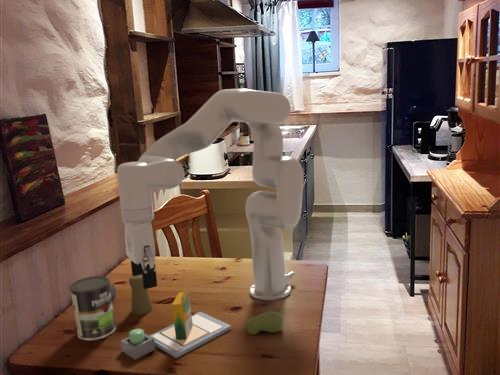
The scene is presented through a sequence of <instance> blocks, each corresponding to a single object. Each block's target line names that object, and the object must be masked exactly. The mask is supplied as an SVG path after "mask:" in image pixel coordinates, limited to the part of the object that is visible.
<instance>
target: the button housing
mask: <svg viewBox="0 0 500 375" xmlns="http://www.w3.org/2000/svg"><path fill="white" fill-rule="evenodd" d="M144 338H145V341H144V342H142V343H140V344H137V345H135V346H134V345H132V344H131V343H130V338H129V336H128V337H126V338H123V339H122V340H120V347H121V352H123V353H124V354H125V355H127V356H128V357H130V358H132V359H133V360H134V361H135V360H138V359H139V358H141V357H143V356H145V355H148V354H149V353H151V352H153V351H155V350H156V346H155V342H154V338H152V337H150V335H149V334H147V333H146V332H144Z"/></svg>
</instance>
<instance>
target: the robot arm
mask: <svg viewBox="0 0 500 375" xmlns="http://www.w3.org/2000/svg"><path fill="white" fill-rule="evenodd" d="M291 110H292V109H291V103H290V101H289V99H288V98H287V97H286V96H285V95H284V94H282V93H280V92H274V91H266V90H265V91H263V90H255V89H248V88H229V89H228V88H226V89H220V90H218V91H217V92H215V93H214V94H212V96H211V97H210V98H208V100H206V102H205V103H203V105H202V106H201V107H200V108H199V109H198V110H197V111H196V112H195V113H194V114H193V115H192V116H191V117H190V118H189V119H188V120H187V121H186V122H185V123H183V124H181V125H180V126H178V127H176V128H175V129H172V131H170V132H168V133H166V134H165V135H163V136H162V137H160V138H159V139H158V140H156V141H155V142H154V143H153V144H151V145H150V147H148V148H147V150H146V151H145V152H143V153H142V154H141V156H140V157H139V159H138V160H137V161H129V162H124V163H123V162H122V163H121V164H119V165H117V167H116V168H117V169H116V175H117V177H116V178H117V184H118V193H119V204H120V212H121V220H122V223H123V224H124V242H125V254H126V256H127V258H128V259H130V267H131V276H132V275H133V276H138V275H142V277H143V287H144V289H147V290H149V289H152V288H156V287H157V286H158V281H157V269H156V246H155V245H156V244H155V237H154V230H153V225H152V221H153V220H154V219H155V214H154V213H155V212H154V203H153V191H160V190H162V191H163V190H172V189H175V188H176V187H178V186H180V185H181V183H182V182H183V180H184V178H185V169H184V167H183V165H182V163H180V162H179V161H178V159H180V158H182V157H184V156H186V155H189V154H192V153H195V152H199V151H202V150H204V149H206V148H208V147H210V146H212V145H213V143H214V142H215V141H216V140H217V139H218V138H219V137H220V136H221V135H222V134H223V132H224V131H225V130H226V129H227V128H228V127H229V126H230V125H231V124H232V123H235V122H236V123H245V124H246V125H247V126H248V127H249V129H250V130H251V133H252V137H253V152H252V154H253V156H252V168H251V169H252V171H251V172H252V179H253V181H254V183H255V184H257V185H258V186H261V187H264V188H265V187H266V188H269V189H275V190H276V192H273V191H267V190H257V191H254V192H252V193H251V194H250V195H249V196H248V197H247V199H246V200H245V201H246V202H245V206H244V208H245V215H246V219H247V222H248V226H249V231H250V233H249V234H250V242H251V244H250V245H251V257H252V270H253V284H252V285H251V286H250V287H249V294H250V296H251V297H253V298H255V299H256V300H262V301H276V300H277V301H278V300H280V299H283V298H285V297H288V296H289V295H290V294H291V292H292V287H291V285H290V284H289V283H288V282H289V281H290V280H291V279H294V278H296V274H295V272H294V271H289V272H288V273H286V271H285V270H286V269H285V253H284V237H283V232H282V229H283V230H288V229H292V228H294V227H295V226H296V225H297V224H298V223H299V221H300V217H301V214H302V208H303V206H302V205H303V192H304V180H305V178H304V174H305V173H304V170H303V167H302V164H301V163H300V161H299V160H298V159H296V158H295V157H292V156H287V155H284V153H283V152H284V136H283V132H282V129H281V127H280V125H281V124H283V123H285V122H286V121H287V119H288V118H289V117H290V113H291Z"/></svg>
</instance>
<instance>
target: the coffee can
mask: <svg viewBox="0 0 500 375" xmlns="http://www.w3.org/2000/svg"><path fill="white" fill-rule="evenodd" d="M110 284H111V280H110V278H108V277H107V276H100V275H99V276H98V275H95V276H88V277H84V278H81V279H78V280H76V281H74V282H72V283H71V284H70V286H69V290H70V293H71V301H72V307H73V313H74V319H75V326H76V330H77V333H76V334H77V337H78V339H79V340H82V341H87V342H88V341H89V342H90V341H99V340H100V339H101V340H102V339H104V338H107V337H109V336H111V335H110V334H113V333H114V332H115V331H116V330H117V327H116V326H117V325H116V321H115V320H116V319H115V314H114V305H113V303H112V297H111V291H110Z"/></svg>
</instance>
